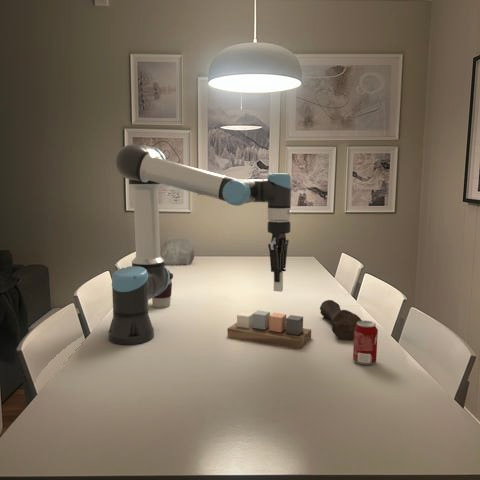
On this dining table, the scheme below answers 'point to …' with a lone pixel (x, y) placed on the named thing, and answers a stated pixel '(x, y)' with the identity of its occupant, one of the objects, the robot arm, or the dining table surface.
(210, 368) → the dining table surface
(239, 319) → the key ivory
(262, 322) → the light grey block
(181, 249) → the decorative stone
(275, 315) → the key terracotta
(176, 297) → the dining table surface
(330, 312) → the dark brown bone
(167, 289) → the coffee cup
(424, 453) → the dining table surface
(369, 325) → the soda can
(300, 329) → the dark gray block
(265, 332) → the wooden block tray
